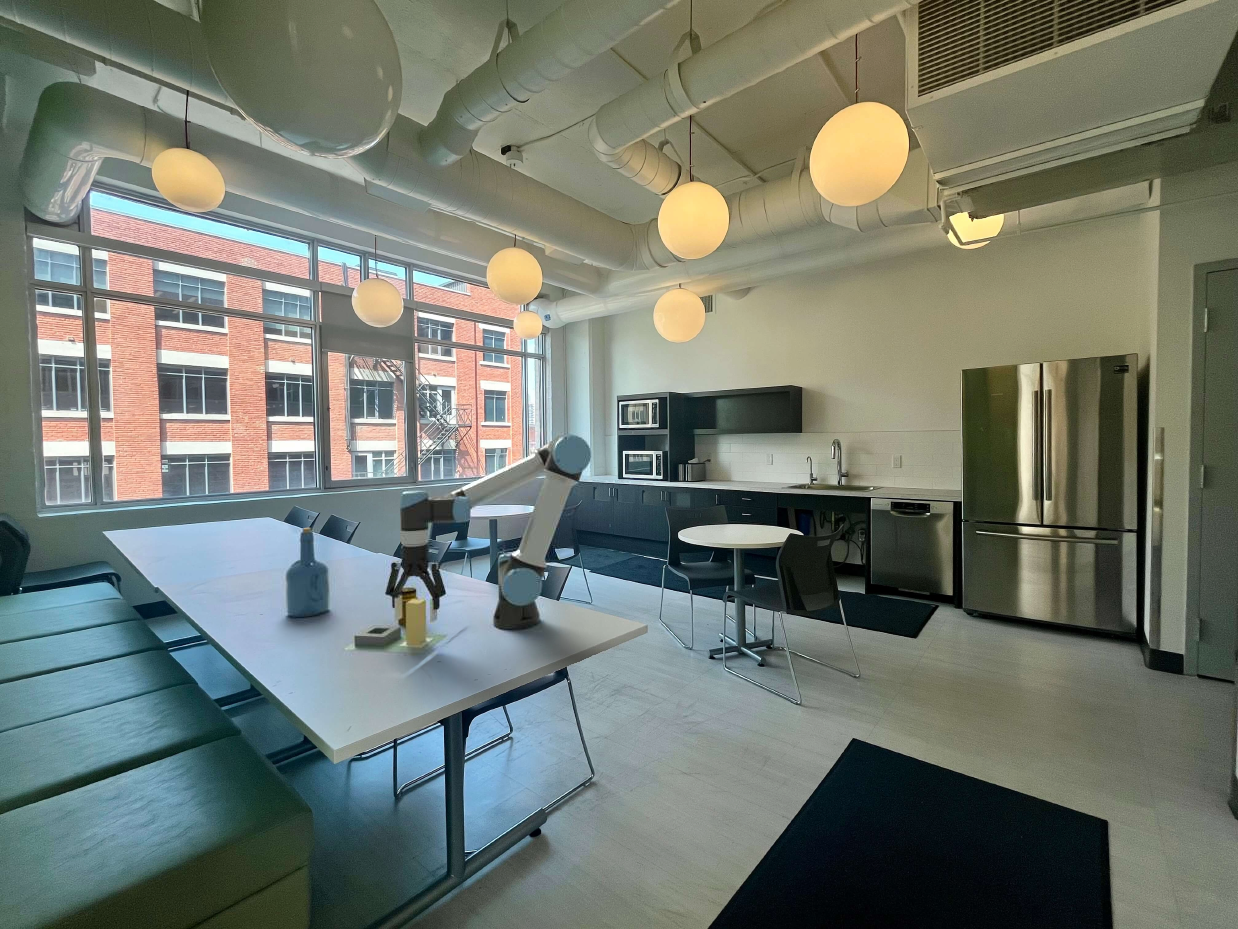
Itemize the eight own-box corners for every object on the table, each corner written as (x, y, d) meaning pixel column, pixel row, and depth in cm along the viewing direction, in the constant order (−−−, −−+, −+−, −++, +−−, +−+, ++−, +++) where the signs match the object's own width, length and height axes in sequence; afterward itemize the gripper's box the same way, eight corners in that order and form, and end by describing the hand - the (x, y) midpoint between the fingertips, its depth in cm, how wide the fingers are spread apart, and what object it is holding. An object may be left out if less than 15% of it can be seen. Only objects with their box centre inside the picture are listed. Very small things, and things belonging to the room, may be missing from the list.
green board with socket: (447, 638, 161) (447, 625, 161) (422, 657, 146) (422, 642, 146) (374, 634, 165) (374, 621, 165) (343, 653, 150) (342, 638, 150)
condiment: (421, 626, 172) (420, 590, 172) (393, 631, 168) (393, 594, 167) (416, 620, 178) (415, 585, 178) (389, 625, 174) (388, 589, 173)
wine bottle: (337, 610, 190) (335, 527, 189) (298, 621, 178) (296, 532, 178) (316, 604, 197) (315, 524, 196) (278, 614, 186) (276, 529, 185)
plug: (426, 640, 156) (425, 599, 156) (419, 645, 152) (418, 603, 152) (413, 639, 157) (413, 599, 157) (406, 644, 153) (405, 603, 153)
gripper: (457, 542, 156) (458, 617, 157) (386, 541, 159) (387, 614, 160) (446, 547, 149) (447, 625, 149) (370, 545, 152) (372, 622, 152)
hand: (416, 619), depth 155 cm, fingers open, 10 cm apart
